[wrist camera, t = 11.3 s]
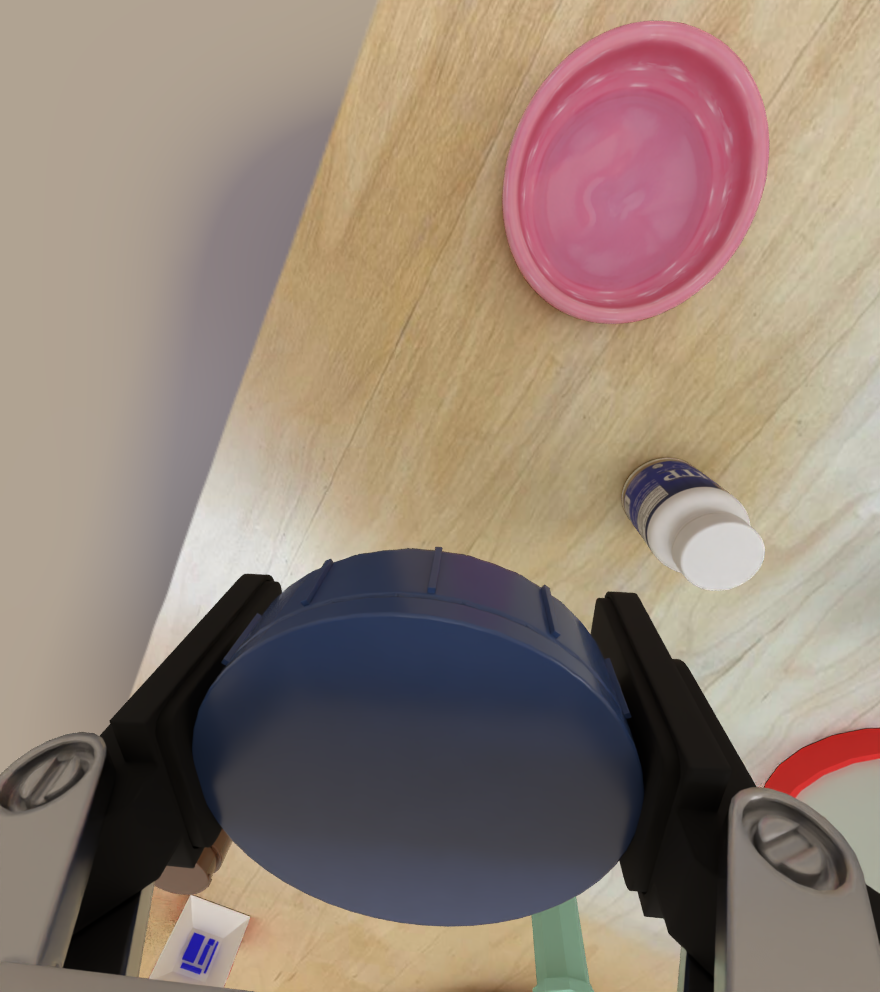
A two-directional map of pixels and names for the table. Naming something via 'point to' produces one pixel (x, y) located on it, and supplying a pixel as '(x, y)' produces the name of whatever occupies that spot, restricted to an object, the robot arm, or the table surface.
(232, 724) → the lid
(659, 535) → the pill bottle
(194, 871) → the jar
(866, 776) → the container
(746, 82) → the saucer
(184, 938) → the red open cube
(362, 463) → the table surface
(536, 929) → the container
